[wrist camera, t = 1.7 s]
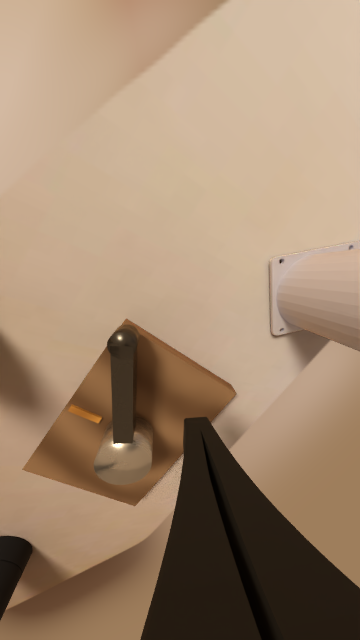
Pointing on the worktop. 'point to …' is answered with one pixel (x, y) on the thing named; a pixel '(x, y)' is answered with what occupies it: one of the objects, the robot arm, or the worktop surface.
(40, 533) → the worktop surface
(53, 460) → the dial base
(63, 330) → the worktop surface
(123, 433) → the round-headed handle tool
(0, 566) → the black water bottle
